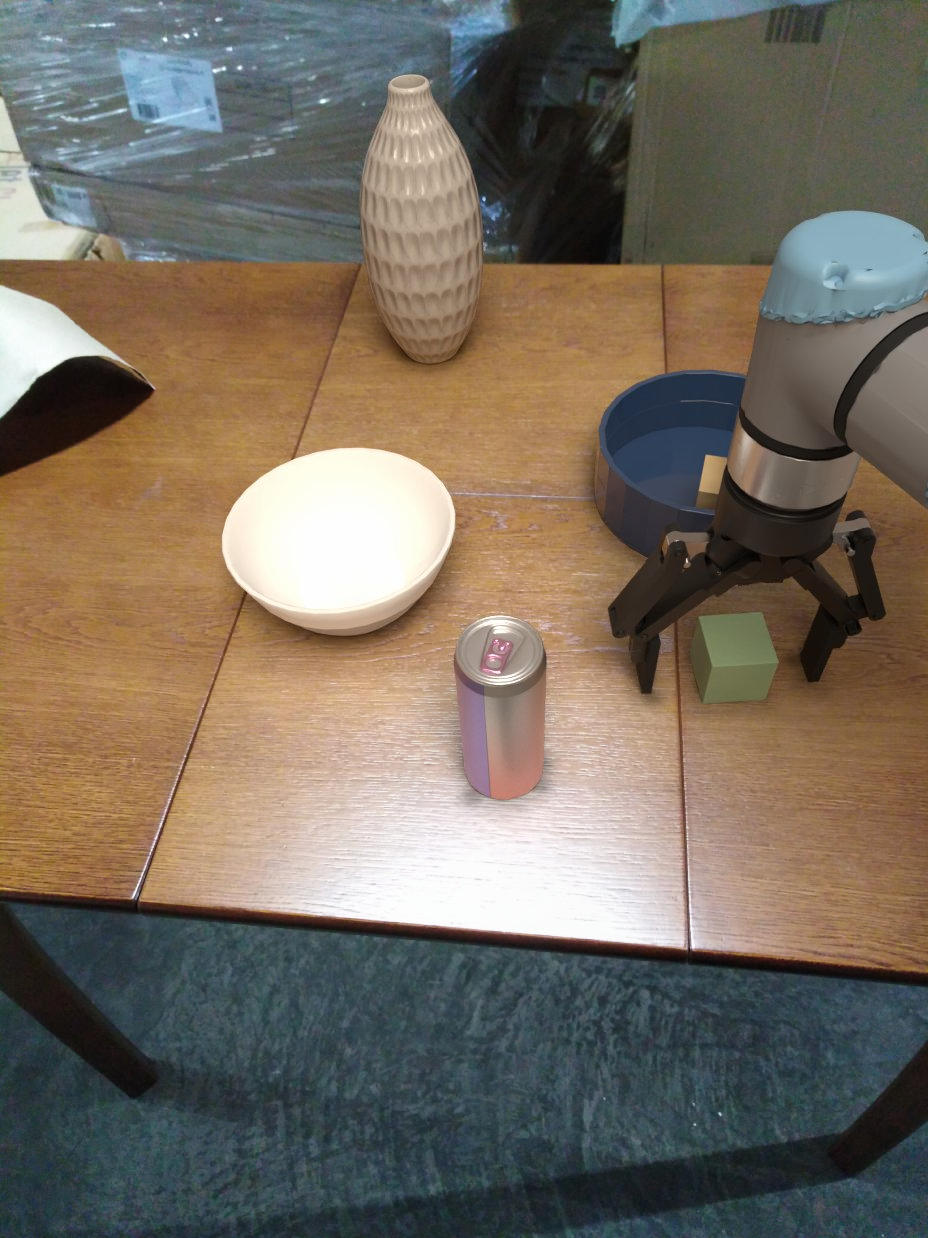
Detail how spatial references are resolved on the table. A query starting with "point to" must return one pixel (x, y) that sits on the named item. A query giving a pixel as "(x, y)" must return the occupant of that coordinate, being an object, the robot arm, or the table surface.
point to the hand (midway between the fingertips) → (726, 674)
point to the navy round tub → (662, 452)
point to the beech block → (710, 482)
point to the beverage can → (501, 704)
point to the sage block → (733, 657)
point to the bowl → (340, 539)
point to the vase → (421, 225)
